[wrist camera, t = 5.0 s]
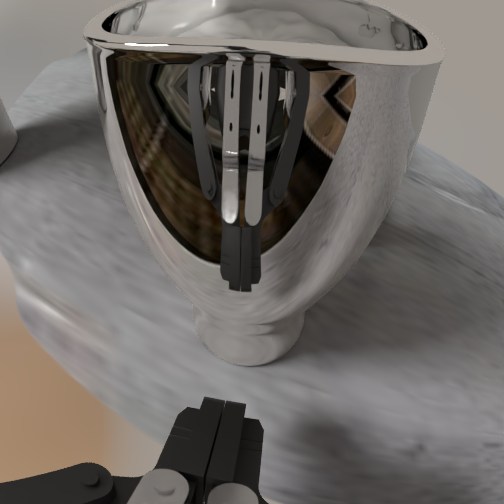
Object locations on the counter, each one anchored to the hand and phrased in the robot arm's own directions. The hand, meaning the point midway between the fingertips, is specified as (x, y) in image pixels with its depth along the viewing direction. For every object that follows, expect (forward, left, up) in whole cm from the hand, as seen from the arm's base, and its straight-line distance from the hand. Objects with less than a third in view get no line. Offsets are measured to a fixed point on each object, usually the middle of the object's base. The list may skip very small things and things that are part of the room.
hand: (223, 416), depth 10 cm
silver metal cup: (0, +6, -4) cm, 7 cm away
